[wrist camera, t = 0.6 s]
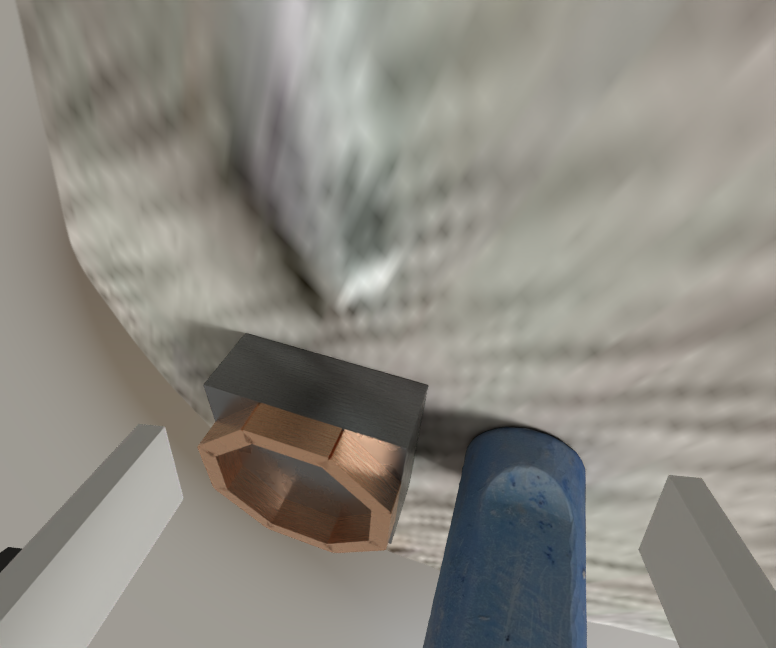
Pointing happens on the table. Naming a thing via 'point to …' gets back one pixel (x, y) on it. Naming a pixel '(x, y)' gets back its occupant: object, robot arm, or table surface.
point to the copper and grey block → (312, 443)
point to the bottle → (514, 548)
